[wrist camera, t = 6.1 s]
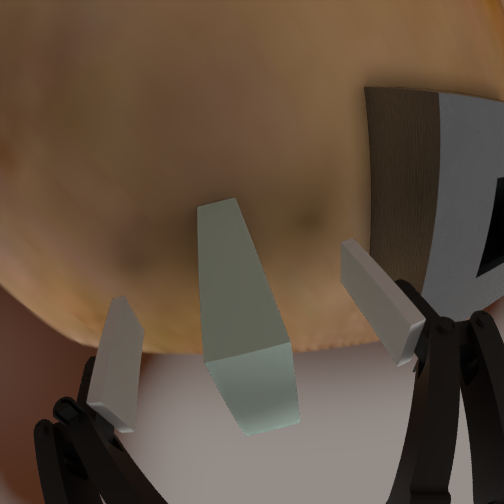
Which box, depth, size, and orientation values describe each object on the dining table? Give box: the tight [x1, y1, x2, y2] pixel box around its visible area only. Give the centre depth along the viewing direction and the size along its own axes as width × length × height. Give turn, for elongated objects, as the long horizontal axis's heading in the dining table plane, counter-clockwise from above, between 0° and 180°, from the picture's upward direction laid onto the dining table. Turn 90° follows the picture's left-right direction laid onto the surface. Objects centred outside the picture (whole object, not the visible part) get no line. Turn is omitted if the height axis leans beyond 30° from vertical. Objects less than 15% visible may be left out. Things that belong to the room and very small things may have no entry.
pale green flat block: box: [197, 197, 300, 436], centre depth 14 cm, size 2×6×12 cm, turn 10°
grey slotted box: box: [364, 87, 504, 322], centre depth 18 cm, size 18×18×7 cm
